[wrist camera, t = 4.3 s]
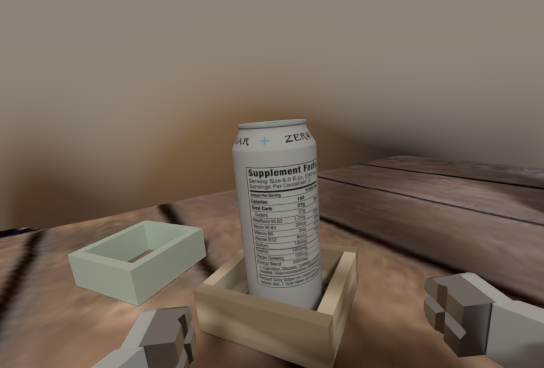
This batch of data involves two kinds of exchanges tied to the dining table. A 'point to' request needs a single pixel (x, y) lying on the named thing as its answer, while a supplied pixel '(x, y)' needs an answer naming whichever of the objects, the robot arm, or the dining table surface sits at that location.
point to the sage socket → (146, 271)
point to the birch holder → (281, 311)
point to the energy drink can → (279, 211)
